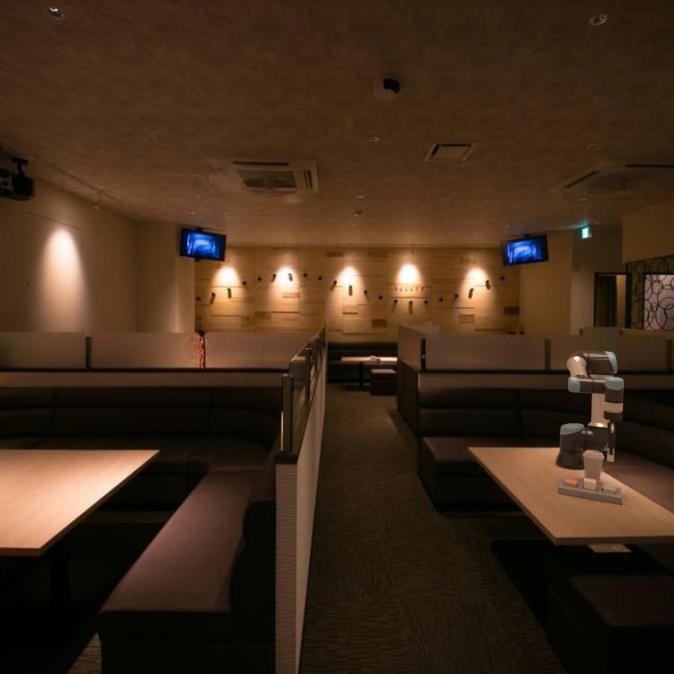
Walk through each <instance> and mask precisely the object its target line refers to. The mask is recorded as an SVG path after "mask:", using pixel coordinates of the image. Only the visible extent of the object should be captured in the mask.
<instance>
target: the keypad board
mask: <svg viewBox="0 0 674 674" xmlns="http://www.w3.org/2000/svg"><path fill="white" fill-rule="evenodd" d="M566 479H567V478H560V480H559V484H558V494H559V495H563V496H569V497H573V498H580V499H586V500H590V501H591V500H592V501H598V502H603V503H607V504H608V503H610V504H614V505H620V506H622V505H623V495H622V493H623V492H622V488H620V487H616V486H614V487H615V488H616V494H611V493H605V492H603V485H604V484H603V485H602V484H599V483H598V484H596V490H590V489H584V481H579V480H576V481H577V488H576V487H570V486H565V480H566Z"/></svg>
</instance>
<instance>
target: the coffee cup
mask: <svg viewBox="0 0 674 674" xmlns="http://www.w3.org/2000/svg"><path fill="white" fill-rule="evenodd" d="M583 456H584V466H585V469H584V478H588V479H595V480H596V484H598V485H599V484H600V483H601V475H602V474H601V473H602V467H603V463H604V462H603V461H604V459H605V456H604V454H603V453H602V451H600V450H592V449H585V451H583Z"/></svg>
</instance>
